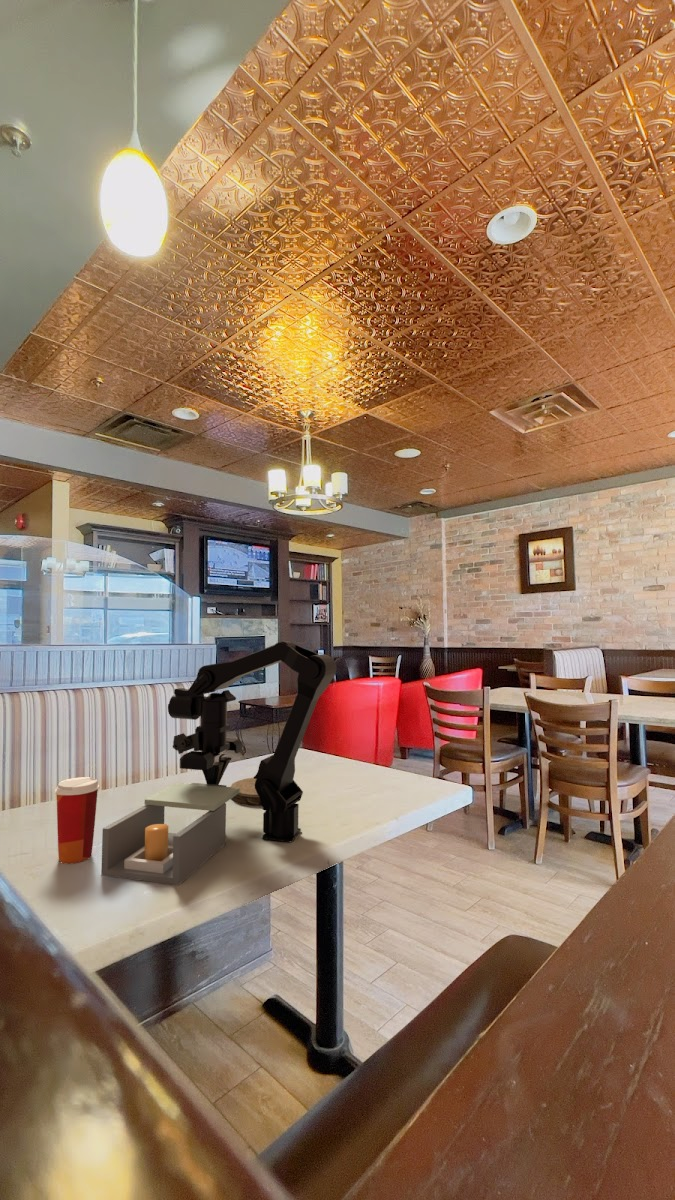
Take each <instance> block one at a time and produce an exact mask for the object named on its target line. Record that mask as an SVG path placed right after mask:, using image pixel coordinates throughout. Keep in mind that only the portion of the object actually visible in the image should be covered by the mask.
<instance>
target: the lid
mask: <svg viewBox="0 0 675 1200" xmlns="http://www.w3.org/2000/svg"><path fill="white" fill-rule="evenodd" d="M238 793H240V788H235V787H231V786H227V785H225V784H223V785H222V784H219V785H215V784H207V783H203V782H202V783H200V782H192V783H184V782H175V783H173V784H171V785H169V786H168V787H166V788H163V789H162V790H160V791H158V792H156V793H155V794H151V796H148V797H147V798H145V799H144V806H145V805H155V806H165V807H168V808H177V809H188V810H189V809H190V810H199V811H207V812H208V811H215V810H216V809H217V808H219V807H220V806H222V805H223V804H224V803H226V804H227V802H229V801H230V800H231V798H233V797H234V796H236V795H237V794H238Z"/></svg>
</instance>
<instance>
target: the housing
mask: <svg viewBox="0 0 675 1200" xmlns="http://www.w3.org/2000/svg"><path fill="white" fill-rule="evenodd" d="M165 807H166V806H155V805H145V804H144V805H143V806H141V807H139V808H138V809H136V810H134V811H132V812H130V813H128V814H126V815H124V816H122V817H121V818H119V819H117V820H115V821H113V822H112V823H110V824H108V825H106V826H104V827H103V828H102V841H101V868H100V869H101V873H100V876H107V877H114V878H123V879H129V880H137V881H145V882H151V883H160V884H167V885H175V886H180V885H181V884H182V883H183V882H185V880H186V879H187V878H188V877H189V878H190V876H191V875H192V874H193V873H194V872H195V871H197V869H199V868H200V867H201V866H203V864H205V862H207V860H209V859H210V858H211V857H212V856H213V855H215V854H216V853H217V852H218V851H219V850H220V849H221V848H223V847H224V846H225V845H226V837H227V836H226V835H227V834H226V831H227V829H226V826H227V824H226V822H227V816H226V815H227V802H226V803H224V804H223V805H222V806H220V807H219V808H217V809H216V810H215V811H208V810H207V811H206V812H205V813H204V814H202V815H201V816H200V817H198V818H196V820H194V821H192V822H191V823H189V824H188V825H187V826H185V827H184V828H183V829H181V830H180V831H179V832H177V833H174V832H173V833H172V832H168V857H167V858H165V859H164V860H163V861H153V860H145V828H146V827H148V826H150V825H154V824H165Z"/></svg>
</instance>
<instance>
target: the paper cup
mask: <svg viewBox="0 0 675 1200" xmlns="http://www.w3.org/2000/svg"><path fill="white" fill-rule="evenodd" d="M98 789H100V784H99V783H98V779H96V778H92V777H88V776H83V777H82V776H81V777H74V778H67V779H64V780H62V781H61V780H60V781H59V782H58V785H57V786H56V788H55V790H54V795H56V818H57V819H56V820H57V822H56V824H57V827H56V828H57V848H58V849H57V854H58V861H59V862H60V863H61V862H62V863H61V864H64V863H67V865H72V864H71V863H73V864H78V863H81V862H85V861H87V860H88V859H89V860H90V858H91V857H92V853H93V844H94V838H95V837H94V834H95V826H96V825H95V824H96V813H97V803H98V793H99V791H98Z"/></svg>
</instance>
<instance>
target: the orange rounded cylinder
mask: <svg viewBox="0 0 675 1200" xmlns="http://www.w3.org/2000/svg"><path fill="white" fill-rule="evenodd" d="M168 833H169V825H168V824H165V823H164V824H154V825H150V826H148V827H146V828H145V860H153V861H163V860H164V859H165V858H167V857H168Z"/></svg>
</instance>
